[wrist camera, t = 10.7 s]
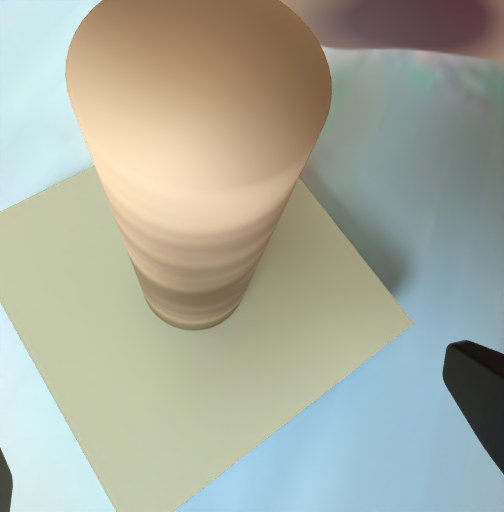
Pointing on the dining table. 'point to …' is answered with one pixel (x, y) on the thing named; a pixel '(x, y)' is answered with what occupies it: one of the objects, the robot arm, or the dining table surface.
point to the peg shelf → (182, 340)
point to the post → (197, 137)
